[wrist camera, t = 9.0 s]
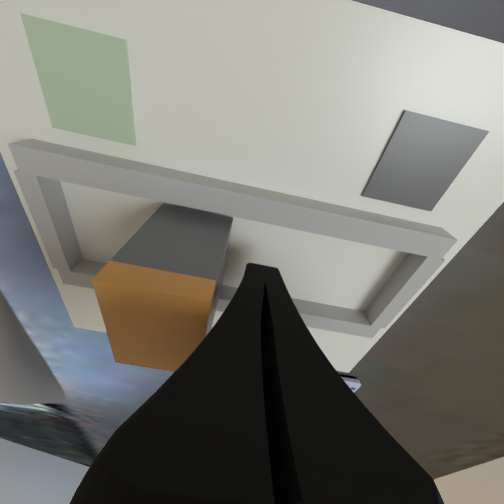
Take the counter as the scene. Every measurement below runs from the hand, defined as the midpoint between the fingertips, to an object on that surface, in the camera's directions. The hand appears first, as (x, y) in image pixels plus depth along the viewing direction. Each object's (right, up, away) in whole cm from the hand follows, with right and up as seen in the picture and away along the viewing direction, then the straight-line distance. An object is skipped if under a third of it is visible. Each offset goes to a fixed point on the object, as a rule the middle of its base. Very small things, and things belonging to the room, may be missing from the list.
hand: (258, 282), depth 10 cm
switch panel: (-1, +2, +3) cm, 4 cm away
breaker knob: (-3, +2, +1) cm, 3 cm away
